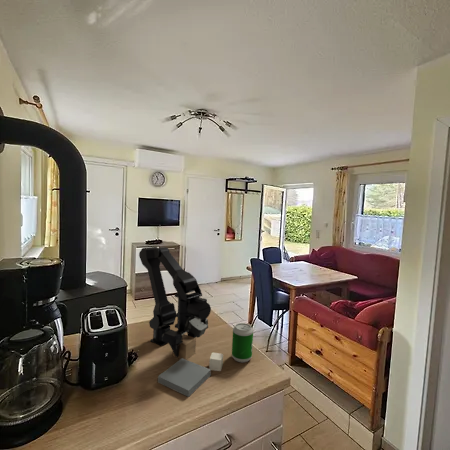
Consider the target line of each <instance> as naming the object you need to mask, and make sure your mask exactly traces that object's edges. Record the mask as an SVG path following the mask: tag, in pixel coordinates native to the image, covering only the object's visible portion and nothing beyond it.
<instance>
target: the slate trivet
mask: <svg viewBox="0 0 450 450" xmlns="http://www.w3.org/2000/svg"><path fill="white" fill-rule="evenodd" d="M211 376H212V370H211V369H209V368H207V367H205V366H204V365H200V364H198V363H196V362H193V361H190V360H189V359H188V360H186V359H183V358H182V359H179V360H177V361H176V362H175V363H174V364H172V365H171V366H169V367H168V368H167V369H166V370H165V371H163V372H162V373H160V374H159V375H158V376H157V383H158V384H161V385H163V386H164V387H166V388H169V389H171V390H172V391H175V392H177V393H179V394H181V395H184V396H185V397H188V398H190V397H191V396H192V395H193V393H194V392H195V391H196V390H198V389H199V388H200V387H201V386H202V384H204V383H205V382H206V381H207V380H208V379H209V378H210V377H211Z"/></svg>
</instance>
